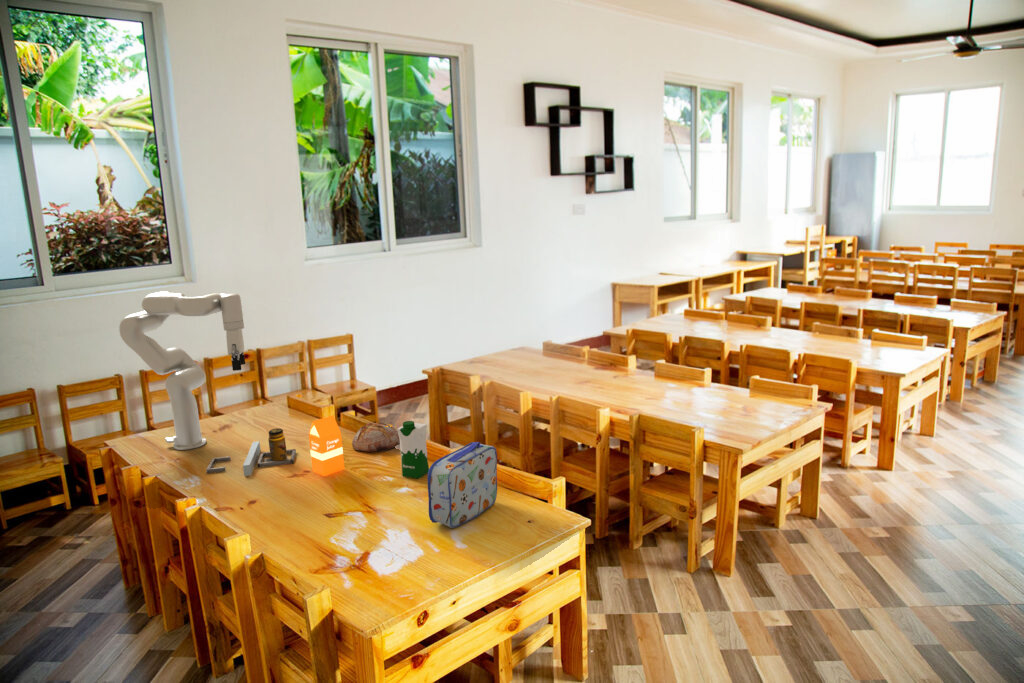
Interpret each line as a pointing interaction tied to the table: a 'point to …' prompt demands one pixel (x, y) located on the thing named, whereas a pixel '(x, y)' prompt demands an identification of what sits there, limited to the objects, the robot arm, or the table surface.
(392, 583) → the table surface
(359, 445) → the bread
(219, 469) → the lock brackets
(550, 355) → the table surface
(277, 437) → the condiment
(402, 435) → the milk carton
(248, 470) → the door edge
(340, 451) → the orange juice
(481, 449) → the lunch box
